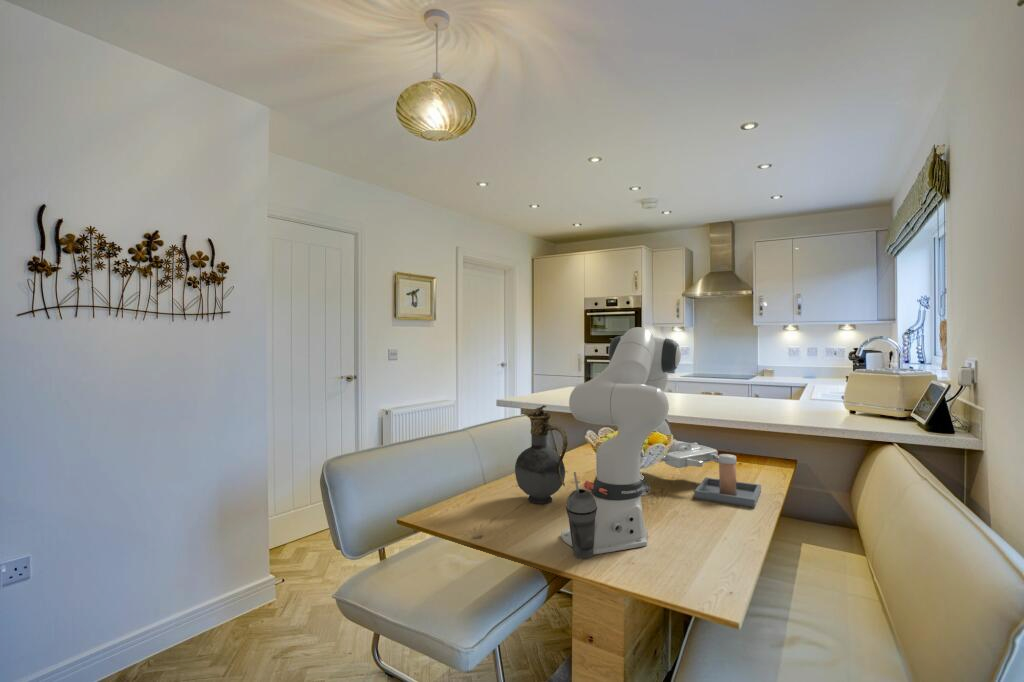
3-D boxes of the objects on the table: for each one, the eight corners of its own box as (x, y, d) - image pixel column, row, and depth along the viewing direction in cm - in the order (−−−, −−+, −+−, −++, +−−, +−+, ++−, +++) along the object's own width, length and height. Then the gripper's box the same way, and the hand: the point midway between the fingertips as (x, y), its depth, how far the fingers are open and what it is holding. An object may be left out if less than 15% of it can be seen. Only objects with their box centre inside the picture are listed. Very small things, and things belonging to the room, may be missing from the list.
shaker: (729, 497, 152) (729, 458, 152) (715, 492, 157) (714, 455, 157) (740, 494, 155) (739, 456, 155) (726, 490, 159) (725, 453, 159)
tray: (754, 508, 144) (754, 499, 144) (694, 498, 153) (694, 490, 153) (761, 492, 158) (760, 484, 158) (705, 484, 167) (705, 477, 167)
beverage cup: (599, 563, 110) (596, 478, 108) (567, 562, 112) (563, 478, 109) (598, 545, 118) (595, 466, 115) (568, 544, 119) (564, 466, 116)
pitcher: (534, 491, 163) (532, 401, 163) (579, 504, 149) (577, 406, 149) (510, 498, 156) (509, 404, 155) (555, 513, 142) (553, 410, 142)
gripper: (656, 448, 168) (688, 456, 156) (697, 441, 178) (730, 448, 166) (657, 466, 168) (689, 476, 156) (697, 458, 178) (731, 467, 166)
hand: (711, 462), depth 161 cm, fingers open, 8 cm apart
